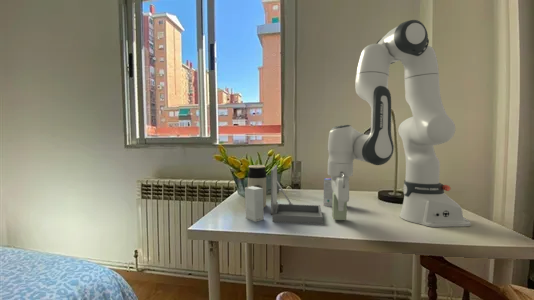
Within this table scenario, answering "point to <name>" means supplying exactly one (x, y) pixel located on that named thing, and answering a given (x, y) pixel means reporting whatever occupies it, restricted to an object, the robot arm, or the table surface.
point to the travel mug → (258, 179)
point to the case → (292, 207)
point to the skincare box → (254, 203)
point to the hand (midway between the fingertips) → (339, 208)
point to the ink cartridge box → (328, 192)
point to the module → (335, 212)
